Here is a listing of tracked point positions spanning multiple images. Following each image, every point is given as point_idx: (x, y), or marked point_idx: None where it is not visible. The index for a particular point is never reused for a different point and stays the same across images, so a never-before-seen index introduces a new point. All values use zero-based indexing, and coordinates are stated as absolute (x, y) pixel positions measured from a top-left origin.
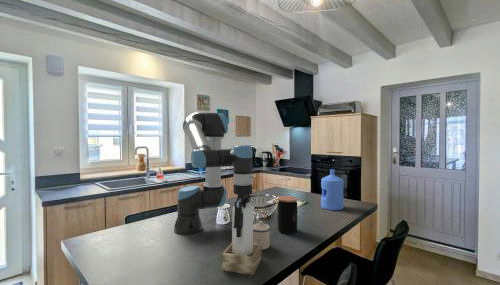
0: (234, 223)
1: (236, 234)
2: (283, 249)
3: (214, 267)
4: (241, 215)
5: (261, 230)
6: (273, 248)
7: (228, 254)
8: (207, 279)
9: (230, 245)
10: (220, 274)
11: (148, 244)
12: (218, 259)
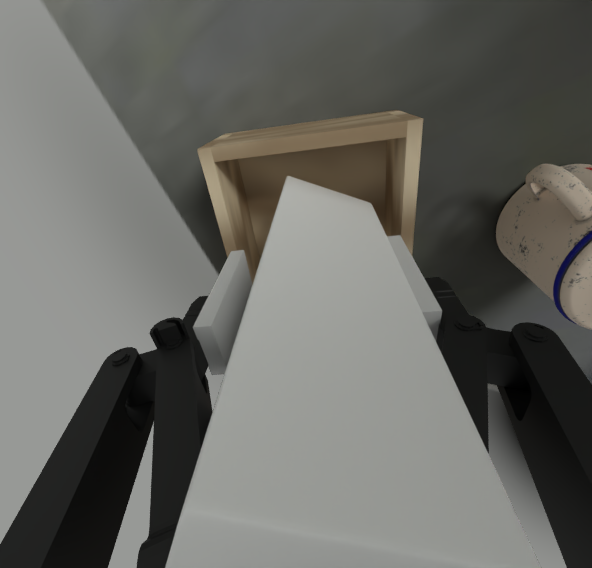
0: (91, 391)
1: (213, 294)
2: (509, 321)
3: (227, 73)
4: (121, 517)
5: (564, 299)
6: (518, 283)
7: (210, 193)
8: (118, 106)
9: (335, 142)
10: (189, 146)
11: None
12: (321, 39)
